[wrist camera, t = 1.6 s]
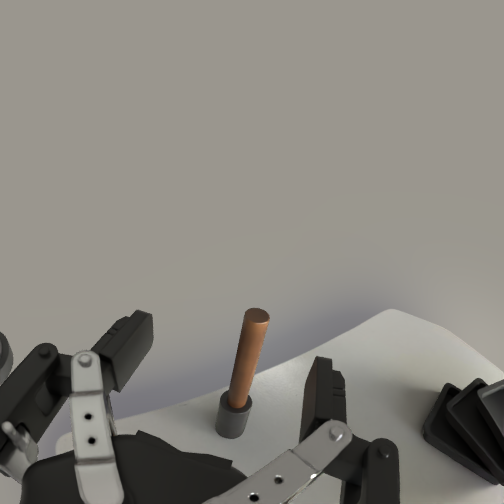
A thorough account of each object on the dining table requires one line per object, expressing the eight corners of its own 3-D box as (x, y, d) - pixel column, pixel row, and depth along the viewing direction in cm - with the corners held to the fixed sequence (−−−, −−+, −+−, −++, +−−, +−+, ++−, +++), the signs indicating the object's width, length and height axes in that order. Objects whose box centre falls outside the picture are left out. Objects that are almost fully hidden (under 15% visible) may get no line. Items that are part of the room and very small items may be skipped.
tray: (406, 461, 27) (428, 442, 25) (436, 366, 45) (449, 346, 43) (534, 507, 13) (557, 490, 10) (536, 416, 30) (551, 399, 28)
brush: (232, 443, 29) (264, 335, 21) (209, 428, 31) (227, 314, 23) (249, 426, 32) (286, 315, 24) (226, 411, 33) (251, 297, 26)
